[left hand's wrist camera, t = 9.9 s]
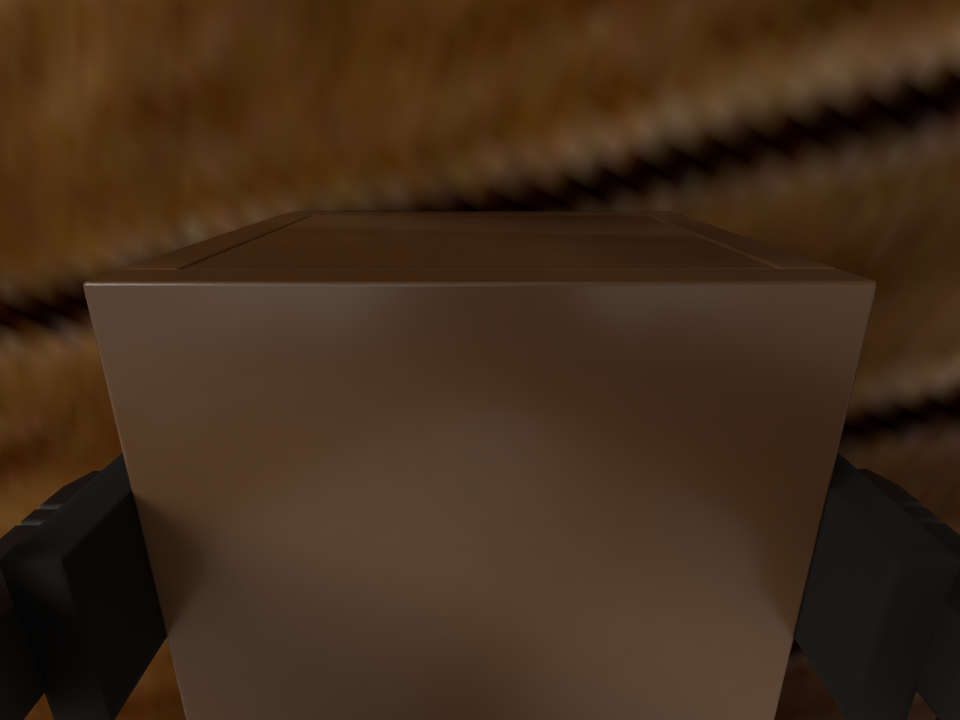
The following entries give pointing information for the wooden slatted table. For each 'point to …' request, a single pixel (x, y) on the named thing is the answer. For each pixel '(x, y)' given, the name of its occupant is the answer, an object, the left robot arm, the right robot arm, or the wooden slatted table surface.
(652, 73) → the wooden slatted table surface
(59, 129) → the wooden slatted table surface
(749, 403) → the cabinet
